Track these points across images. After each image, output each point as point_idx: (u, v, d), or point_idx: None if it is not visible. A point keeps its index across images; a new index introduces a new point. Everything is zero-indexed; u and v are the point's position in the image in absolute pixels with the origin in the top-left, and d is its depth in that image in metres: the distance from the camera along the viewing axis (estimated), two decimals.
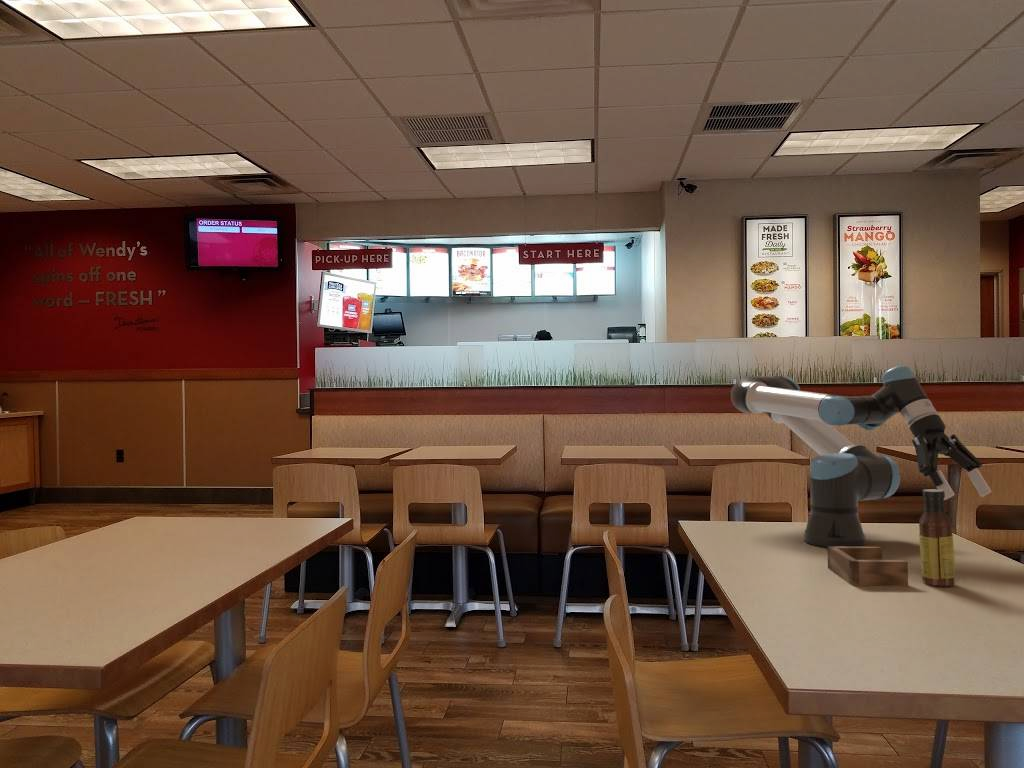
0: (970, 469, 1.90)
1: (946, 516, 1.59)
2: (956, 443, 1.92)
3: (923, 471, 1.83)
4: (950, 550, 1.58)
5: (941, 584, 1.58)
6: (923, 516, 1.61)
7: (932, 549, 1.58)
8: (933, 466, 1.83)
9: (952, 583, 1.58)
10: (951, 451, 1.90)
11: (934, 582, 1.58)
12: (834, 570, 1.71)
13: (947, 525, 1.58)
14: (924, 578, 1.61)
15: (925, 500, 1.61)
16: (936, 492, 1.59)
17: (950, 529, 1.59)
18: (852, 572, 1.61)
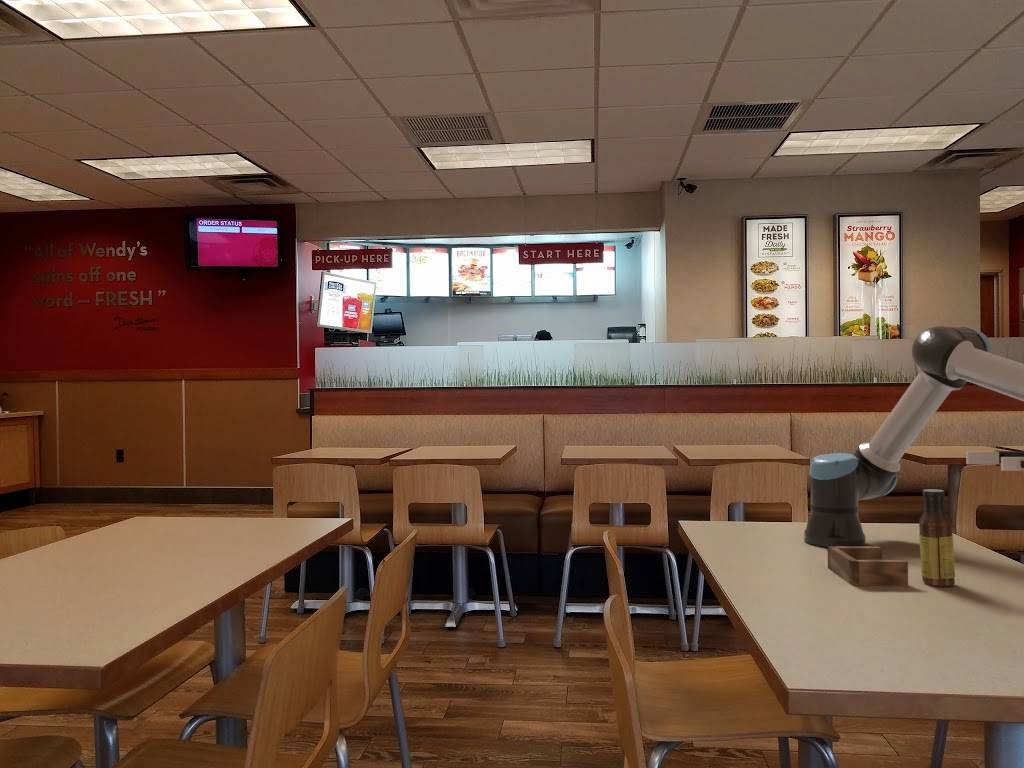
0: (999, 455, 1.67)
1: (946, 516, 1.59)
2: None
3: None
4: (950, 550, 1.58)
5: (941, 584, 1.58)
6: (923, 516, 1.61)
7: (932, 549, 1.58)
8: None
9: (952, 583, 1.58)
10: None
11: (934, 582, 1.58)
12: (834, 570, 1.71)
13: (947, 525, 1.58)
14: (924, 578, 1.61)
15: (925, 500, 1.61)
16: (936, 492, 1.59)
17: (950, 529, 1.59)
18: (852, 572, 1.61)
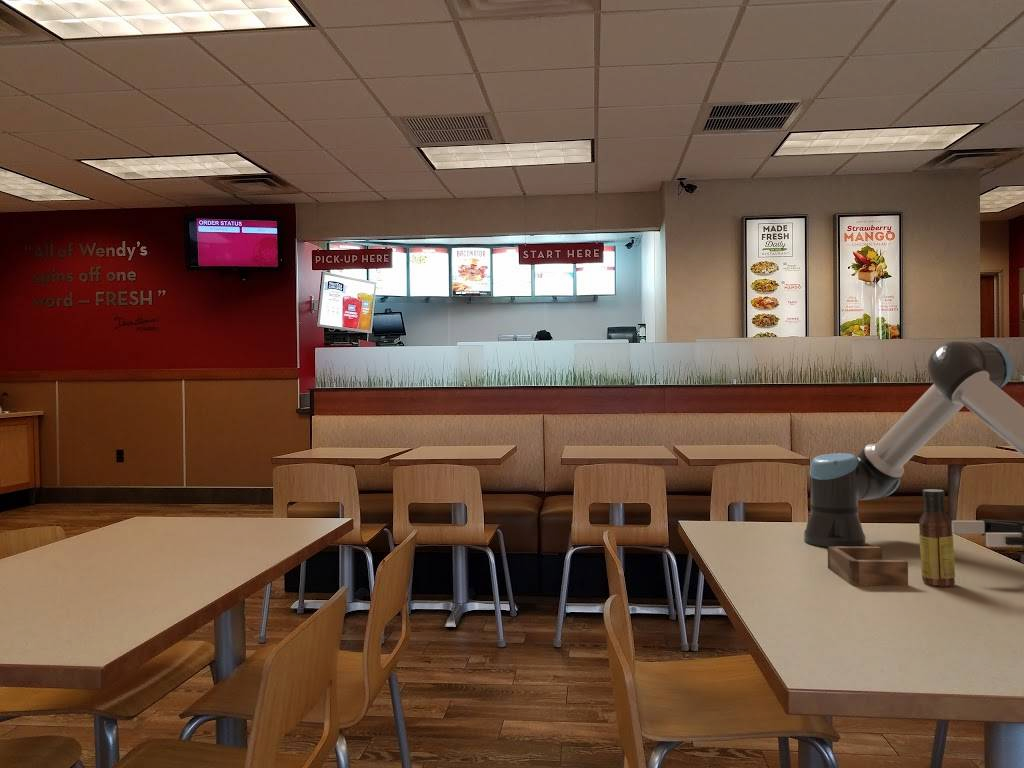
0: (985, 525, 1.66)
1: (946, 516, 1.59)
2: None
3: None
4: (950, 550, 1.58)
5: (941, 584, 1.58)
6: (923, 516, 1.61)
7: (932, 549, 1.58)
8: None
9: (952, 583, 1.58)
10: (1020, 532, 1.62)
11: (934, 582, 1.58)
12: (834, 570, 1.71)
13: (947, 525, 1.58)
14: (924, 578, 1.61)
15: (925, 500, 1.61)
16: (936, 492, 1.59)
17: (950, 529, 1.59)
18: (852, 572, 1.61)
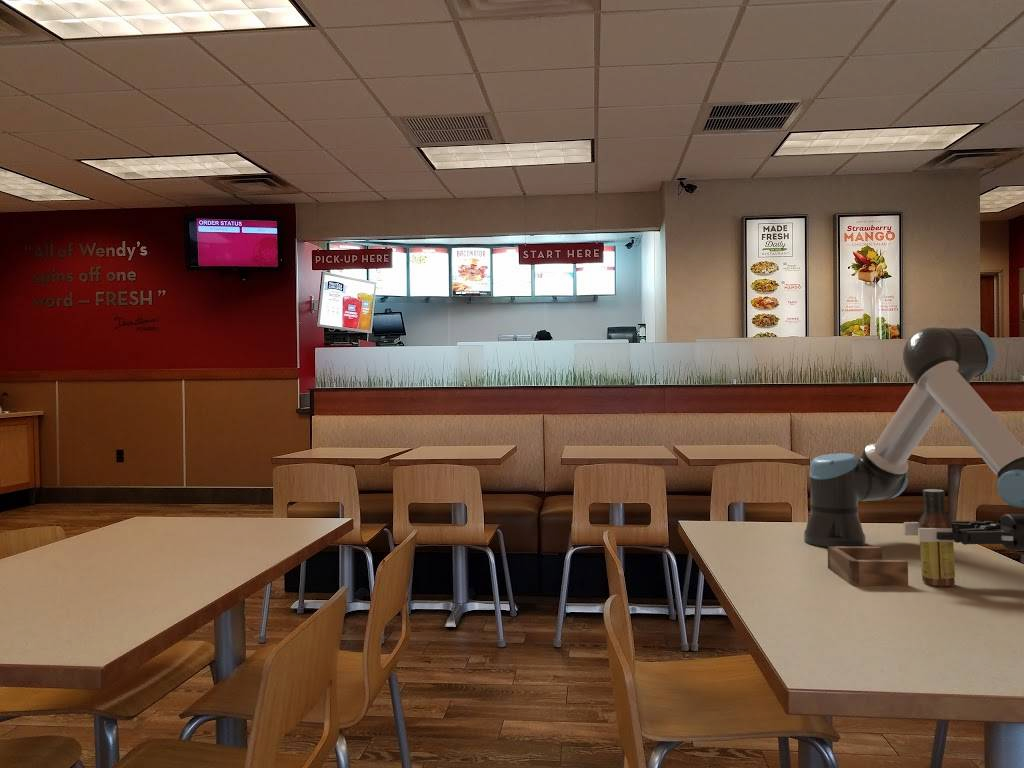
0: None
1: (946, 516, 1.59)
2: None
3: (962, 535, 1.54)
4: (951, 550, 1.58)
5: (941, 584, 1.58)
6: (923, 516, 1.61)
7: (932, 549, 1.58)
8: (960, 541, 1.56)
9: (952, 583, 1.58)
10: None
11: (934, 582, 1.58)
12: (834, 570, 1.71)
13: (947, 525, 1.58)
14: (924, 578, 1.61)
15: (925, 500, 1.61)
16: (936, 492, 1.59)
17: None
18: (852, 572, 1.61)
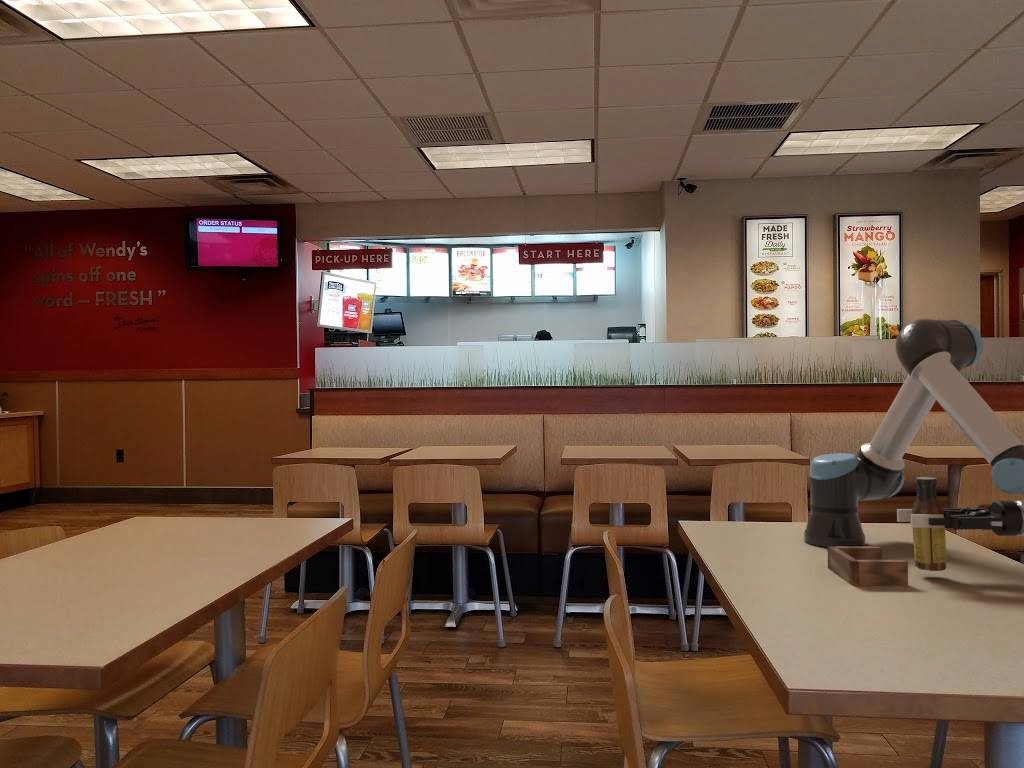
0: None
1: (938, 503, 1.65)
2: None
3: (953, 520, 1.60)
4: (942, 535, 1.64)
5: (933, 568, 1.63)
6: (916, 503, 1.67)
7: (924, 535, 1.64)
8: None
9: (944, 567, 1.64)
10: None
11: (926, 566, 1.64)
12: (834, 570, 1.71)
13: (939, 511, 1.64)
14: (917, 563, 1.66)
15: (918, 487, 1.66)
16: (928, 480, 1.64)
17: None
18: (852, 572, 1.61)
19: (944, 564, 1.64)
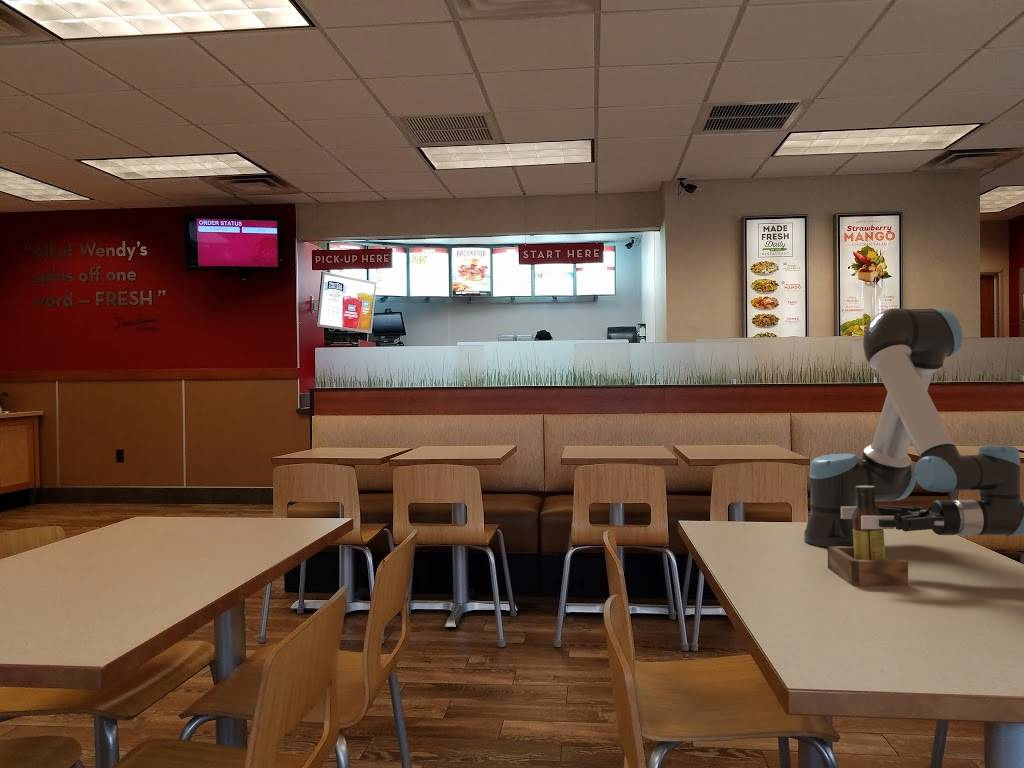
0: None
1: (877, 511, 1.66)
2: None
3: (903, 522, 1.58)
4: (881, 543, 1.65)
5: None
6: (856, 511, 1.68)
7: (863, 542, 1.66)
8: (901, 528, 1.60)
9: None
10: None
11: None
12: (834, 570, 1.71)
13: None
14: None
15: (857, 496, 1.68)
16: (867, 488, 1.66)
17: None
18: (852, 572, 1.61)
19: None
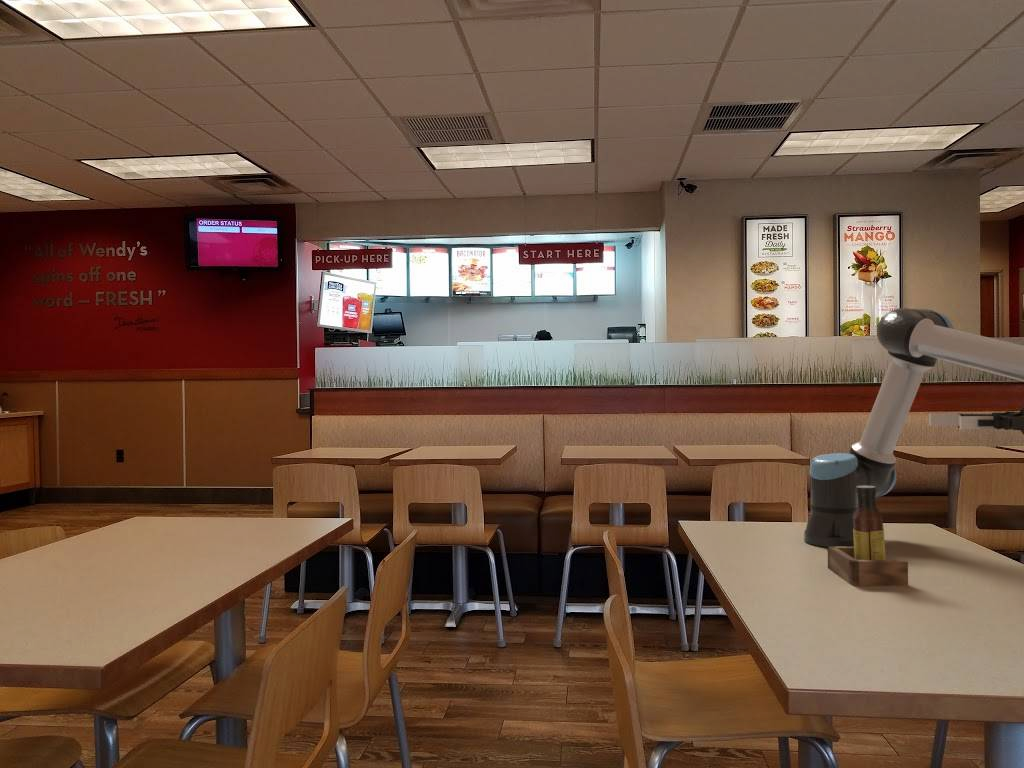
0: None
1: (877, 511, 1.66)
2: None
3: (1004, 420, 1.57)
4: (881, 543, 1.65)
5: None
6: (856, 511, 1.68)
7: (863, 543, 1.65)
8: None
9: None
10: None
11: None
12: (834, 570, 1.71)
13: (878, 520, 1.65)
14: None
15: (858, 496, 1.68)
16: (868, 488, 1.66)
17: (881, 524, 1.66)
18: (852, 572, 1.61)
19: None
